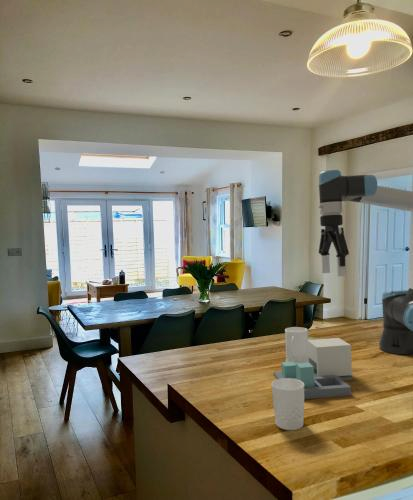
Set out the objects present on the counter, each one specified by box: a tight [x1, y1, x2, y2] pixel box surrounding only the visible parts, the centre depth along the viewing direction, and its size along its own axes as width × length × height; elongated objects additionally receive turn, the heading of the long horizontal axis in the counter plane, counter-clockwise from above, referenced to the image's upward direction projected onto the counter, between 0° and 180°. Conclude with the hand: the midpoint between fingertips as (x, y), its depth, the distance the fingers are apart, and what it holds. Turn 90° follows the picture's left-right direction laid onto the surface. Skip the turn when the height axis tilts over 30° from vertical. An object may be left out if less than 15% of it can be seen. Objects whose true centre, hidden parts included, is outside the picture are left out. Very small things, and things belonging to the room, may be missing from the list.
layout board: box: [273, 361, 355, 382], centre depth 127 cm, size 23×10×5 cm, turn 95°
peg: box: [296, 362, 314, 388], centre depth 115 cm, size 4×4×8 cm
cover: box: [307, 337, 353, 376], centre depth 127 cm, size 11×9×10 cm
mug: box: [284, 326, 309, 364], centre depth 142 cm, size 12×8×12 cm
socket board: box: [292, 375, 352, 400], centre depth 116 cm, size 16×10×2 cm, turn 95°
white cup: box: [271, 378, 305, 431], centre depth 96 cm, size 8×8×10 cm
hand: (333, 274), depth 139 cm, fingers open, 13 cm apart
